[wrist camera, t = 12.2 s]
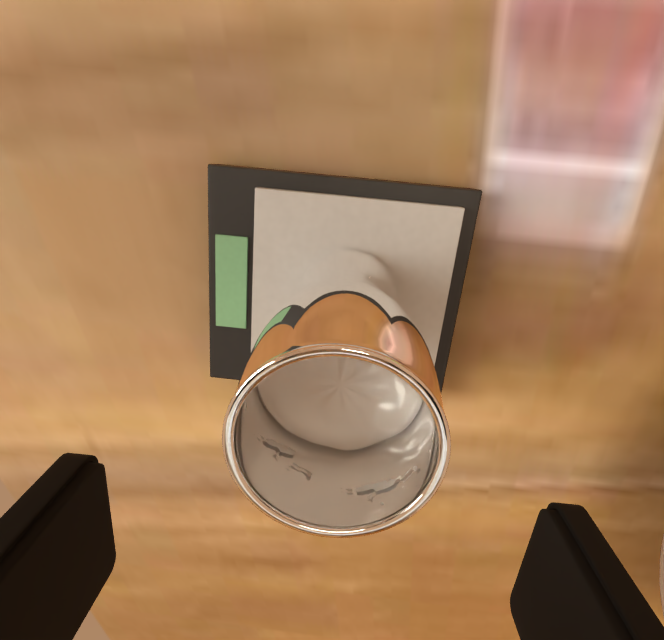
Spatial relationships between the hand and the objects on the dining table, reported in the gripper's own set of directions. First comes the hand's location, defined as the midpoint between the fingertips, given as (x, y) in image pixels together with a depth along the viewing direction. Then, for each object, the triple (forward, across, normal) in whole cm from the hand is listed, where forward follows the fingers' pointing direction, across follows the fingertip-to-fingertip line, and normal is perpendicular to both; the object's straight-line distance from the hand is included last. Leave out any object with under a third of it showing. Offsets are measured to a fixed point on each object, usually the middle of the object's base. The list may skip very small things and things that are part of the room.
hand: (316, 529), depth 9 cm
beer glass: (+18, 0, 0) cm, 18 cm away
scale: (+21, 0, +1) cm, 21 cm away
